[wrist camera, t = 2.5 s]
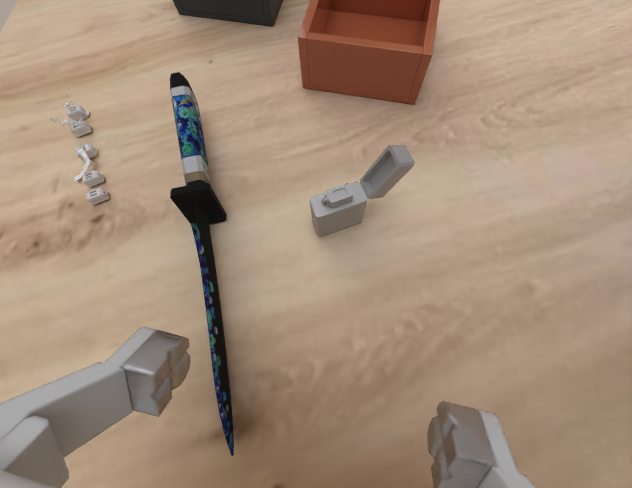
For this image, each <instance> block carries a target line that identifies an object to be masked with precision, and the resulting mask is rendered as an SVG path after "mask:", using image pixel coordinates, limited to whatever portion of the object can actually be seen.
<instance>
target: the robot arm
mask: <svg viewBox="0 0 632 488" xmlns="http://www.w3.org/2000/svg"><path fill="white" fill-rule="evenodd" d="M188 348H189V339H188V338H185V337H182V336H178V335H175V334H171V333H167V332H164V331H160V330H156V329H152V328H149V327H145V326H144V327H142V328H140V329H138V330H137V331H136V332H135V333H134V334H133V335H132V336H131V337H130V338H129V339H128V340H127V341H126V342H125V343H124V344H123V345H122V346H121V347H120V348H119V349H118V350H117V351H116V352H115V353H114V354H112V355H111V356H110V357H109V358H108V359H107V360H106V361H105V362H104V363H101V362H98V363H96V364H93V365H91V366H89V367H86V368H84V369H82V370H79V371H77V372H74V373H72V374H70V375H67V376H65V377H62V378H60V379H58V380H55V381H53V382H50V383H48V384H46V385H43V386H41V387H39V388H36V389H34V390H31V391H29V392H27V393H24V394H22V395H19V396H17V397H15V398H12V399H10V400H7V401H5V402H3V403H0V488H61V487H62V486H63V485H64V483H65V482H66V481H67V479H68V478H69V471H68V468H67V466H66V463H65V461H64V457H65V456H67V455H68V454H70V453H71V452H73V451H74V450H76V449H77V448H79V447H80V446H82V445H84V444H85V443H87V442H88V441H90V440H91V439H93V438H94V437H96V436H97V435H99V434H100V433H102V432H103V431H105V430H106V429H108V428H109V427H111V426H112V425H114V424H115V423H117V422H118V421H120V420H121V419H123V418H124V417H126V416H127V415H129V414H130V413H132V412H133V411H132V410H134V411H138V412H142V413H146V414H150V415H154V416H158V417H159V416H160V414H161V413H162V411H163V410H164V409H165V407H166V406H167V404H168V403H169V401H170V400H171V398H172V390H173V389H175V388H177V387H179V386H180V385H181V384H182V382H183V381H184V379H185V377H186V375H187V373H188V370H189V366H190V356H189V354H188V353H187V352H186V350H187V349H188ZM437 413H438V416H436V417H434V418H432V420H431V422H430V424H429V429H428V449H429V453H430V454H431V455H432V457H433V458H434V460H435V462H434V463H433V465H432V467H431V470H432V477H433V484H434V488H536V487H535V486H534V485H533V483H532V482H531V481H530V480H529V479H528V478H527V477H526V476H525V475H523V474H520V473H519V471H518V469H517V466H516V463H515V461H514V458H513V455H512V453H511V450H510V448H509V445H508V442H507V440H506V437H505V434H504V432H503V429H502V427H501V424H500V421H499V419H498V417H497V416H496V415H495V414H493V413H489V412H485V411H481V410H476V409H474V408H470V407H466V406H461V405H457V404H453V403H449V402H444V401H442V402H441V403H439V405H438V407H437Z"/></svg>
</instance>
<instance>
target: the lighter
mask: <svg viewBox="0 0 632 488" xmlns="http://www.w3.org/2000/svg"><path fill="white" fill-rule="evenodd" d="M413 166H414V160H413V159H412V157H411V155H410V153H409V151H408V149H407V148H406V146H405V145H389V146H387V148H386V149H385V150H384V151H383V153H382V154H381V155H380V156H379V158H378V159H377V160H376V161H375V162H374V164H373V165H372V166H371V167H370V169H369V170H368V171H367V172H366V173H365V175H364V176H363V177H362V178H361V180H360V183H359V182H355V183H353V184H350V185H349V184H348V183H347V184H344V185H341V186H338V187H335V188H332V189H329V190H326V193H323V194H321V195H318V196H315V197H312V198H311V199H310V207H311V214H312V222H313V225H314V227H315V230H316V232H317V235H318V236H319V237H322V236H325V235H328V234H330V233H333V232H336V231H339V230H342V229H344V228H347V227H350V226H353V225H356V224H359V223H361V221H362V218H363V214H364V210H365V206H366V202H367V198H368V199H373V198H381V197H383V196H384V195H385V194H386V193H387V192H388V191H389V190H390V189H391V188H392V187H393V186H394V185H395V184H396V183H397V182H398V181H399V180H400V179H401V178H402V177H403V176H404V175H405V174H406V173H407V172H408V171H409V170H410V169H411V168H412V167H413Z"/></svg>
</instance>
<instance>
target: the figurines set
mask: <svg viewBox="0 0 632 488" xmlns="http://www.w3.org/2000/svg"><path fill="white" fill-rule="evenodd" d="M68 97H69V96H68ZM70 98H71V97H70ZM71 101H72V99H71ZM71 101H70V103H69V104H70V107H69V105H67V103H66V105H65V106H64V105H63V106H64V107H66V108H68V109H67V115H68V117H69V118H71V119H72V120H71V119H69V120H68V121H67V120H64V121H63V122H62V121H58V122H59V123H63V124H67V123H70V127H71V131H72V133H74V134H75V135H76V136H77V137H79V136H82V135H85V134H87V133H90V132H92V130H91V126H90V125H88V124H87V123H86V122H85V121H82V120H84V119H86V118H88V117H89V112H88V111H86V110H85V109H84V108H83V107H82V106H80V105H76V106H74V104H75V102H74V104H73V102H72V105H73V106H72V107H71ZM63 104H64V103H63ZM59 105H62V104H59ZM50 120H51V121H54V122H56V121H57V120H58V118H55V117H51V119H50ZM63 126H64V125H63ZM67 127H69V125H67ZM76 153H77V156H78V157H79V158H81V160H85V161H86V163H85V166H84V168H83V170H82V172H81V173H80V174H79V175H77V176H75V177H73V178H74V180H75V181H77V180H78V179H80V178H81V177H82V179H83V183H84V184H86V185H87V186H88V187H92V186H95V185H97V184H100V183H102V182H104V176H103V174H101V173H99V172H98V171H91V172H88V173H85V172H86V171H87V170H88V167H89V165H90V163H91V164H92V165H93V166H95V164H94V163H93V162H92V161H90V159H89V158H92V157H94V156H97V155H98V153H97V149H96V148H94V147H93V146H92V145H90V144H85V145H83V146H80V147H77V148H76ZM86 196H87V200H88V201H89V202H90V203H92V204H93V205H95V204H98V203H100V202H103V201H105V200H108V199H109V196H108V192H107V191H105V190H103V189H101V188H97V189H94V190H92V191H89V192H87V194H86Z"/></svg>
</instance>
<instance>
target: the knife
mask: <svg viewBox="0 0 632 488" xmlns="http://www.w3.org/2000/svg"><path fill="white" fill-rule="evenodd" d="M170 91H171V98H172V104H173V110H174V116H175V122H176V128H177V134H178V140H179V146H180V153H181V159H182V165H183V171H184V177H185V183H186V186H183V187H178V188H173V189H172V190H171V196H170V198H171V199H172V201H173V202H174V203H175V204H176V206H177V207H178V208H179V209H180V211H181V212H182V213H183V215H184V216H185V217H186V218H187V220H188V221H189V222H190V223H191V226H192V230H193V234H194V238H195V243H196V247H197V252H198V257H199V262H200V267H201V274H202V282H203V290H204V298H205V306H206V314H207V323H208V332H209V341H210V350H211V360H212V367H213V375H214V382H215V390H216V396H217V402H218V408H219V413H220V418H221V422H222V426H223V430H224V433H225V437H226V441H227V444H228V447H229V450H230V452H231V455H232V456H233V455H234V438H233V419H232V407H231V396H230V386H229V376H228V367H227V357H226V348H225V339H224V331H223V322H222V314H221V306H220V298H219V291H218V283H217V275H216V268H215V260H214V253H213V247H212V241H211V235H210V226H209V224H212V223H217V222H222V221H225V220H226V213H225V211H224V209H223V208H222V206H221V204H220V202H219V200H218V199H217V197H216V195H215V193H214V191H213V190H212V188H211V182H210V176H209V170H208V163H207V157H206V151H205V144H204V138H203V131H202V125H201V119H200V112H199V107H198V103H197V100H196V97H195V95H194V93H193V91H192V89H191V87H190V84H189V82H188V81H187V80H186V78H185V77H184V76H183V75H182V74H181V73H179V72H178V73H173V74H171V77H170Z"/></svg>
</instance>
